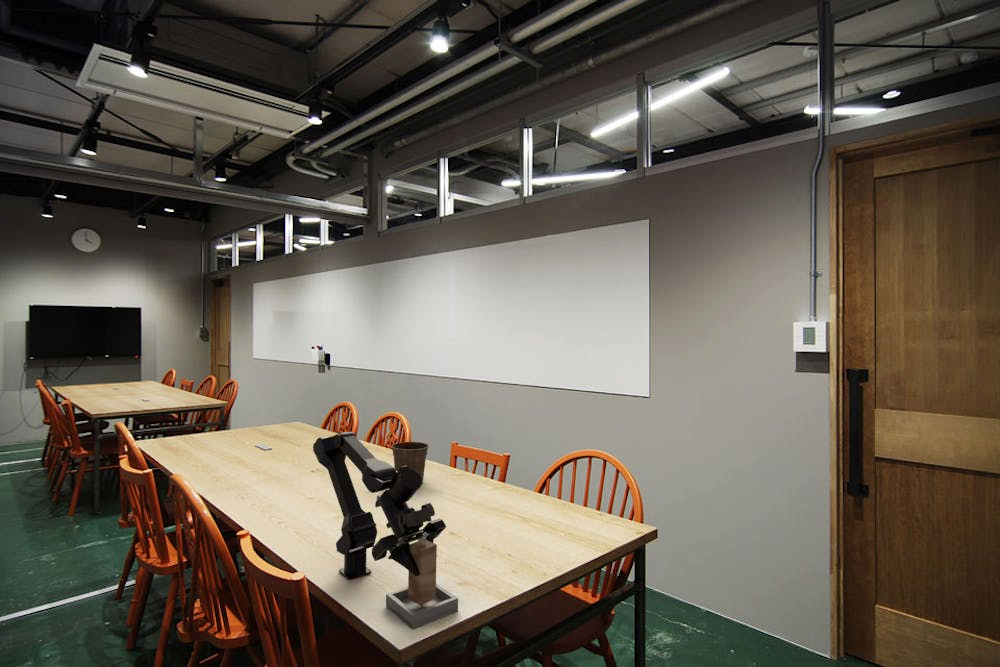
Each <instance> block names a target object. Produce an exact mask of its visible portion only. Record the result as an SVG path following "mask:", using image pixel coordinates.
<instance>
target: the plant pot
mask: <svg viewBox="0 0 1000 667" xmlns="http://www.w3.org/2000/svg"><path fill="white" fill-rule="evenodd" d="M390 447H391V448H392V455H393V464H394V465H393V468H394V469H395V470H396V471H398V470H399V469H400V467H402V466H408V467H409V469H411V470H414V471H416V472H417V473H418V474H420V476H421V478H422V481H423V482H424V477H425V476H424V475H425V467H426V459H427V455H428V449H429V447H430V446H429V444H428V443H425V442H419V441H404V442H403V441H402V442H396V443H393V444H392V445H391V446H390Z"/></svg>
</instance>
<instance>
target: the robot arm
mask: <svg viewBox="0 0 1000 667" xmlns="http://www.w3.org/2000/svg"><path fill="white" fill-rule="evenodd" d="M312 450H313V453H314V455H315V457H316V459H317V462H318V463H319V464H320V465H322V466H323V467H324V468H325V469H327V472H328V475H329V477H330V481H331V483H332V486H333V489H334V493H335V496H336V498H337V501H338V505H339V508H340V511H341V514H342V516H343V519H342V523H341V524H342V525H341V529H340V531H341V536H340V537H339V539H338V540H337V541H336V543H335V547H336V552H337V553H339V554H341V555H343V556H344V558H343V560H344V561H343V568H339V569H338V572H339V573H340V574H341V575H342V576H344V577H345V578H346V579H347V580H352V579H356V578H359V577H363V576H366V575H369V574H371V573H372V570H371V569H370V568H369V567H367V551H368V550H367V549H370V548H371V555H372V558H373V561H375V562H378V561H379V560H381V559H385V558H386V557H387V555H388V552H389V554H390V555H389V556H388V557H387V559H388V560H390V561H391V560H393V561H394V562H395V563H398V564H399V565H400V566H402V567H403V568H405V569H406V570H407V571H408V572H409V571H410V572H411V573H412V574H414V575H415V576H418V575H419V570H418V568H417V565H416V563H415V561H414V559H413V557H412V555H411V553H410V548H409V544H411V543H412V542H413V543H414V542H416V541H417V542H418V541H420V537H426V540H427V541H430V542H432V543H434V541H435V540H434V539H436V538H437V537H439V536H440V534H441V533H442V532H443V531H444V530H445V529H446V528H447V525H446V524H445V521H444V520H443V519H441V518H437V519H433V520H432V517H435V516H436V513H435V507H434V506H433V505H432V503H431V502H429V503H425V504H423V505H421V506H420V508H421V509H418V510H416V509H415V508H414V507H409V506H408V504H407V502H409V501H410V500H411V499H412V498H413V497H414V495H415V494H416V493H417V492H418V491H419V489H420V488H421V487H422V485H423V482H422V478H421V476H420V474H418V473H417V472H416V471H414V470H411V469H409V467H408V466H402V467H400V469H399V470H398V471H396V470H395V468H394V466H393V465H391V464H389V463H388V462H386V461H384V460H380V459H378V458H377V457H375V456H374V454H372V452H371V451H370V450H369V449H367V447H366V446H365V445H364V444H363V443H362V442H361V441H360V440H359V439H358V438H357V435H356V433H355V432H352V431H345V432H338V433H337V434H335V435H330V436H324V437H323V436H322V437H317V439H316V440H315V442H313V446H312ZM346 457H347V458H348V460H350V461H351V462H352V463H353V465H354V466H355V467H356V468H357V469H358V471H360V473H361V475H362V476H361V480H362V483H363V484H364V487H366V489H367V490H368V492H370V493H371V494H373V493H379V492H382V491H383V492H382V494H378V495H377V496H376V501H375V504H374V507H375V508H380V507H381V509H382V511H383V513H384V516H385V518H386V519H387V523H386V524H385V526H386V527H387V529H391V531H392V532H393V534H390V535H386V536H383V537H381V538H379V540H378V541H377V542H376V540H377V539H376V538H377V536H378V529H377V524H376V522H375V520H374V516H373V513H372V511H368V512H366V511H365V510H364V509H362V507H361V504H360V500H359V499H358V498H359V497H358V495H357V492H356V489H355V487H354V483H353V481H352V477H351V475H350V473H349V469H348V468H347V467H348V466H347V464H346ZM425 522H426V525H425V524H424V523H425ZM424 525H425V526H424ZM422 527H423V528H422ZM421 528H422V529H421ZM375 542H376V543H375Z"/></svg>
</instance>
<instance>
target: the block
mask: <svg viewBox="0 0 1000 667" xmlns="http://www.w3.org/2000/svg"><path fill="white" fill-rule="evenodd" d="M437 545H438V544H436V543H434V542H433V543H432V542H430V541H427V540H426V537H420V541H418V540H417V541H414V542H413V543H412V542H411V543H409V548H410V553H411V555H412V557H413V559H414V561H415V563H416V565H417V568H418V570H419V575H418V576H415V575H414V574H412V573H411V572H410V571H409V570H408V581H407V583H408V584H407V587H408V599H409V600H411V601H413V602H415V603H417V604H418V605H420V606H421V605H423V604H425V603H427V602H429V601H431V600H433V599H435V598H436V584H437V556H438V555H437V551H438V550H437V548H438V546H437Z"/></svg>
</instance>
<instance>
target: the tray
mask: <svg viewBox="0 0 1000 667" xmlns="http://www.w3.org/2000/svg"><path fill="white" fill-rule="evenodd" d="M385 608H386V609H387V610H389V611H390V612H391V613H393V615H395V616H396V617H397V618H398V619H399V620H401V621H402V623H404V624H405V625H407V626H408V628H410V629H411V630H412V631H414V630H415V629H418V628H420V627H423V626H425V625H428V624H431V623H433V622H435V621H437V620H440V619H442V618H445V617H447V616H449V615H452V614H454V613H457V612H459V598H458V597H457V596H456V595H454V594H453V593H452V592H450V591H448V589H445V588H444V587H443V586H441V585H440V584H438V583H436V598H435V599H433V600H431V601H429V602H427V603H425V604H423V605H421V606H420V605H418V604H417V603H415V602H413V601H411V600H409V599H408V586H406V587H402V588H400V589H398V590H394V591H391V592H389V593H388V592H387V593H386V594H385Z"/></svg>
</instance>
